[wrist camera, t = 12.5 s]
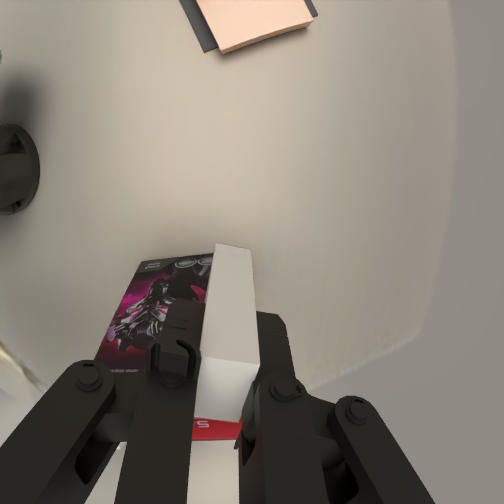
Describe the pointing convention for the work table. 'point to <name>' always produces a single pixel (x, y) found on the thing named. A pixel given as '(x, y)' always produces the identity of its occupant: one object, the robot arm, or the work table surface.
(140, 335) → the graphics card box
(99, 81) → the work table surface
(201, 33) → the mat
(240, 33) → the tile
